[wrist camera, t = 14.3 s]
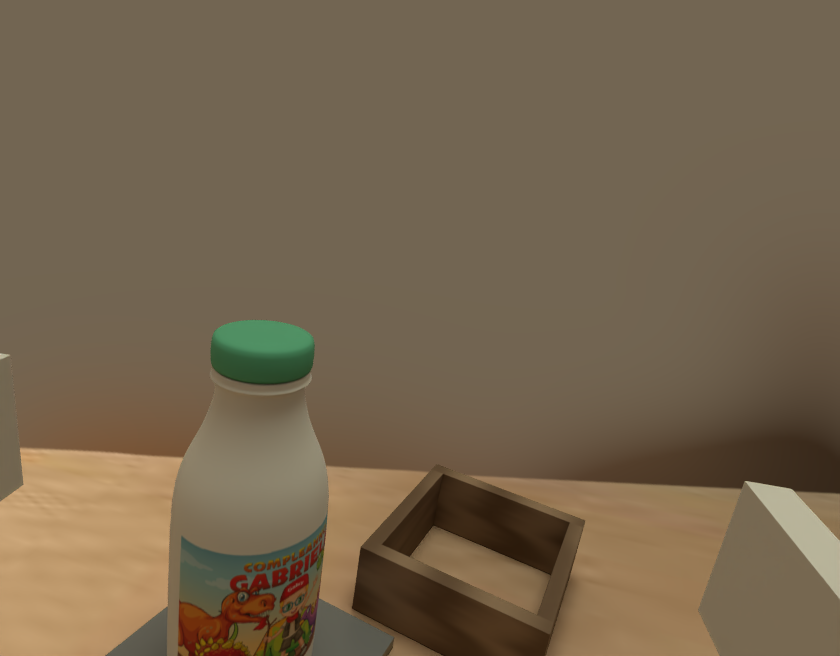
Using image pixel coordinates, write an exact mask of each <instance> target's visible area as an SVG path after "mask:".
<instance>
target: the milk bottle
mask: <svg viewBox="0 0 840 656" xmlns="http://www.w3.org/2000/svg"><path fill="white" fill-rule="evenodd" d="M314 346H315V345H314V340H313V337H312V336H311V335H310V334H309V333H308V332H307V331H305V330H303V329H302V328H299V327H297V326H294V325H291V324H287V323H281V322H276V321H266V320H246V321H237V322H233V323H228V324H225V325H223V326H221V327H219V328H218V329H217V330H215V332H214V334H213V337H212V341H211V364H212V369H211V371H210V377H211V379H212V381H213V382H214V383H215V391H214V395H213V399H212V402H211V405H210V407H209V410H208V412H207V415H206V417H205V419H204V421H203V423H202V425H201V427H200V429H199V431H198V432H197V434H196V436H195V437H194V439H193V441H192V442H191V444H190V446H189V448H188V450H187V452H186V454H185V456H184V458H183V460H182V463H181V465H180V468H179V471H178V474H177V478H176V482H175V487H174V493H173V498H172V509H171V523H170V544H169V575H168V618H167V656H311V655H312V649H313V641H314V633H315V625H316V616H317V608H318V599H319V591H320V582H321V573H322V564H323V555H324V546H325V536H326V526H327V512H328V498H329V495H328V477H327V469H326V465H325V461H324V457H323V454H322V451H321V448H320V445H319V443H318V440H317V438H316V436H315V433H314V431H313V428H312V425H311V422H310V419H309V415H308V410H307V405H306V399H305V387H306V386H307V385H308V384H309V383H310V382H311V379H312V376H311V368H312V366H313V359H314Z"/></svg>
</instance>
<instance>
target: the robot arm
mask: <svg viewBox="0 0 840 656" xmlns="http://www.w3.org/2000/svg"><path fill="white" fill-rule="evenodd" d="M22 485H23V476H22V466H21V456H20V446H19V436H18V426H17V416H16V406H15V396H14V386H13V376H12V367H11V356H10V355H7V354H1V353H0V501H1V500H3V499H4V498H5V497H7V496H8V495H10V494H11V493H12V492H14V491H15V490H17V489H18V488H19V487H21V486H22ZM698 611H699V613H700V615H701V617H702V619H703V621H704V624H705V626H706V628H707V630H708V632H709V634H710V636H711V638H712V640H713V643H714V645H715V647H716V649H717V651H718V653H719V655H720V656H840V541H839V540H838V539H837V538H836V537H835V536H834V534H833V533H832V532H831V531H830V530H829V529H828V528H827V527H826V526H825V525H824V524H823V523H822V521H821V520H820V519H819V518H818V517H817V516H816V515H815V514H814V513H813V512H812V511H811V510H810V508H809V507H808V506H807V505H806V504H805V503H804V502H803V501H802V500H801V499H800V498H799V497H798V495H797V494H796V493H795V492H794V491H793V490H792V489H788V488H782V487H777V486H771V485H764V484H759V483H753V482H748V481H745V482H744V485H743V488H742V490H741V493H740V496H739V499H738V501H737V504H736V507H735V510H734V512H733V515H732V518H731V521H730V523H729V526H728V529H727V532H726V534H725V537H724V540H723V543H722V546H721V548H720V551H719V554H718V557H717V559H716V562H715V565H714V568H713V570H712V573H711V576H710V579H709V581H708V584H707V587H706V590H705V592H704V595H703V598H702V601H701V603H700V606H699V609H698Z"/></svg>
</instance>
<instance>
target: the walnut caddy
mask: <svg viewBox="0 0 840 656" xmlns="http://www.w3.org/2000/svg"><path fill="white" fill-rule="evenodd" d="M584 524H585V520H582V519H580V518H577V517H575V516H572V515H569V514H567V513H564V512H561V511H559V510H556V509H553V508H551V507H548V506H546V505H543V504H540V503H538V502H535V501H532V500H530V499H527V498H524V497H522V496H519V495H516V494H514V493H511V492H509V491H506V490H503V489H501V488H498V487H495V486H493V485H490V484H487V483H485V482H482V481H480V480H477V479H474V478H472V477H469V476H466V475H464V474H461V473H458V472H456V471H453V470H451V469H448V468H445V467H443V466H440V465H436V466H435V467H434V468H433V469H432V470H431V471H430V472H429V473H428V474H427V475H426V477H425V478H424V479H423V480H422V481H421V482H420V483H419V484H418V485H417V486H416V487H415V488H414V490H413V491H412V492H411V493H410V494H409V495H408V496H407V497H406V498H405V499H404V500H403V502H402V503H401V504H400V505H399V506H398V507H397V508H396V509H395V510H394V511H393V512H392V514H391V515H390V516H389V517H388V518H387V519H386V520H385V521H384V522H383V523H382V524H381V525H380V527H379V528H378V529H377V530H376V531H375V532H374V533H373V534H372V535H371V536H370V537H369V539H368V540H367V541H366V542H365V543H364V544H363V545H362V546H361V549H360V556H359V563H358V571H357V578H356V585H355V592H354V599H353V606H352V608H353V609H355V610H357V611H358V612H360V613H362V614H364V615H366V616H368V617H370V618H372V619H374V620H376V621H378V622H380V623H382V624H384V625H386V626H388V627H390V628H392V629H394V630H395V631H397V632H399V633H401V634H403V635H405V636H407V637H409V638H411V639H413V640H415V641H417V642H419V643H421V644H423V645H425V646H427V647H429V648H431V649H432V650H434V651H436V652H438V653H440V654H442V655H444V656H546V653H547V649H548V646H549V643H550V639H551V636H552V633H553V630H554V626H555V623H556V620H557V616H558V613H559V610H560V606H561V603H562V600H563V597H564V593H565V590H566V587H567V583H568V580H569V577H570V574H571V570H572V566H573V563H574V559H575V556H576V552H577V549H578V545H579V541H580V538H581V534H582V531H583V527H584ZM433 525H436V526H438V527H440V528H443V529H445V530H447V531H450V532H452V533H454V534H457V535H459V536H462V537H464V538H466V539H469V540H471V541H473V542H476V543H478V544H480V545H483V546H485V547H488V548H490V549H492V550H495V551H497V552H499V553H502V554H504V555H506V556H509V557H511V558H513V559H516V560H518V561H521V562H523V563H525V564H528V565H530V566H532V567H535V568H537V569H539V570H542V571H544V572H547V573H549V574H551V577H550V580H549V583H548V586H547V589H546V592H545V594H544V597H543V600H542V603H541V606H540V609H539V611H538V614H537V615H536V614H534V613H531V612H529V611H527V610H525V609H523V608H520V607H518V606H516V605H514V604H512V603H509V602H507V601H505V600H503V599H501V598H498V597H496V596H494V595H492V594H490V593H487V592H485V591H483V590H481V589H479V588H476V587H474V586H472V585H470V584H468V583H465V582H463V581H461V580H459V579H457V578H454V577H452V576H450V575H448V574H446V573H443V572H441V571H439V570H437V569H435V568H432V567H430V566H428V565H426V564H424V563H421V562H419V561H417V560H415V559H413V558H410V557H409V556H410V555H411V554H412V552H413V551H414V550H415V548H416V547H417V546H418V545H419V543H420V542H421V541H422V539H423V538H424V537H425V535H426V534H427V533H428V531H429V530H430V529H431V527H432V526H433Z"/></svg>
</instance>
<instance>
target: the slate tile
mask: <svg viewBox="0 0 840 656" xmlns="http://www.w3.org/2000/svg"><path fill="white" fill-rule="evenodd" d="M167 618H168V606H167V607H166V608H165V609H163V610H162V611H161V612H160V613H158V614H157V615H156V616H155V617H153V618H152V619H151V620H150V621H148V622H147V623H146V624H145V625H143V626H142V627H141V628H140V629H138V630H137V631H136V632H135V633H133V634H132V635H131V636H130V637H128V638H127V639H126V640H125V641H123V642H122V643H121V644H120V645H118V646H117V647H116V648H114V649H113V650H112V651H111V652H109V653H108V654H107V655H106V656H167ZM393 641H394V637H392V636H390V635H389V634H387V633H385V632H383V631H381V630H379V629H377V628H375V627H373V626H371V625H369V624H367V623H365V622H363V621H362V620H360V619H358V618H356V617H354V616H352V615H350V614H348V613H346V612H344V611H342V610H340V609H338V608H337V607H335V606H333V605H331V604H329V603H327V602H325V601H323V600H321V599H318V608H317V616H316V625H315V633H314V641H313V649H312V655H311V656H387V655H388V653H389V652H390V650H391V649H392V647H393Z"/></svg>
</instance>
